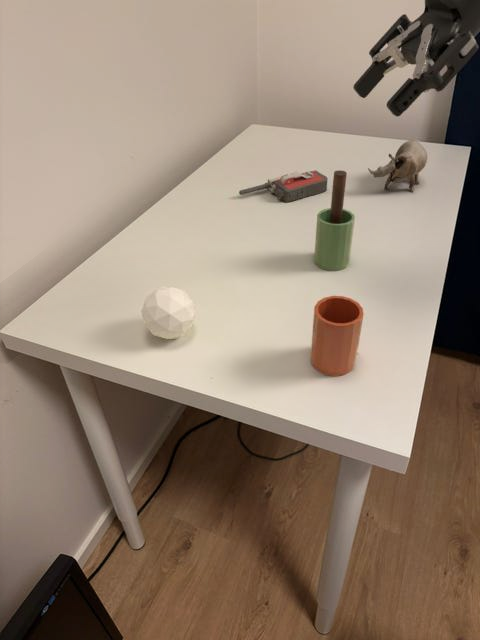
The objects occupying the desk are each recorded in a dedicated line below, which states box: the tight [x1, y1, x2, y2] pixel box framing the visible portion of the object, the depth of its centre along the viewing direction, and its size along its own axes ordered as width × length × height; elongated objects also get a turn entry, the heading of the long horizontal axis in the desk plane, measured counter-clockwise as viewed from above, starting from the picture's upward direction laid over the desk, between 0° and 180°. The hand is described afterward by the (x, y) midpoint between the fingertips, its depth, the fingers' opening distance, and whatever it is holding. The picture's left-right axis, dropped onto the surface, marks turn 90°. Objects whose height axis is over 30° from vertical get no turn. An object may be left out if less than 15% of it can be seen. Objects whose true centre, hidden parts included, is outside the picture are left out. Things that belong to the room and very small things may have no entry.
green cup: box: [313, 207, 356, 272], centre depth 85 cm, size 6×6×9 cm
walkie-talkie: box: [238, 169, 329, 203], centre depth 108 cm, size 9×4×20 cm
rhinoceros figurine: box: [367, 138, 428, 193], centre depth 108 cm, size 8×14×15 cm
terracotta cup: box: [310, 295, 365, 377], centre depth 65 cm, size 6×6×9 cm
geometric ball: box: [140, 286, 197, 340], centre depth 72 cm, size 8×8×8 cm
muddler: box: [329, 170, 348, 224], centre depth 82 cm, size 4×4×16 cm
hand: (373, 102), depth 60 cm, fingers open, 8 cm apart
